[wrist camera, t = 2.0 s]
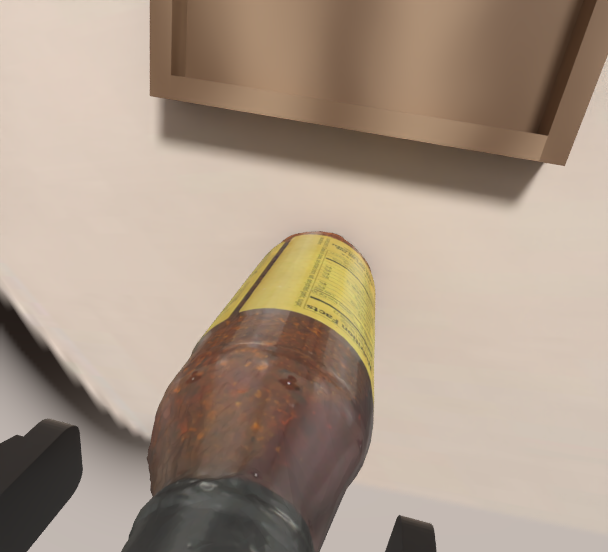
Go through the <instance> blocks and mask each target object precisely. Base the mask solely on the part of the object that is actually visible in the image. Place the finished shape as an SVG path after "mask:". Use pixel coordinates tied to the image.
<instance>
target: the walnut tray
mask: <svg viewBox="0 0 608 552" xmlns="http://www.w3.org/2000/svg"><path fill="white" fill-rule="evenodd" d="M607 55H608V0H150V96H153V97H159V98H165V99H171V100H177V101H183V102H189V103H195V104H201V105H207V106H213V107H219V108H224V109H230V110H236V111H242V112H248V113H254V114H260V115H266V116H272V117H278V118H284V119H290V120H296V121H301V122H307V123H313V124H319V125H325V126H331V127H337V128H343V129H349V130H355V131H361V132H367V133H373V134H379V135H384V136H390V137H396V138H402V139H408V140H414V141H420V142H426V143H432V144H438V145H444V146H450V147H456V148H461V149H467V150H473V151H479V152H485V153H491V154H497V155H503V156H509V157H515V158H521V159H527V160H533V161H538V162H544V163H550V164H556V165H562V166H565V164H566V161H567V159H568V156H569V153H570V151H571V148H572V146H573V143H574V140H575V138H576V135H577V133H578V130H579V128H580V125H581V122H582V120H583V117H584V115H585V112H586V109H587V107H588V104H589V102H590V99H591V97H592V94H593V91H594V89H595V86H596V84H597V81H598V78H599V76H600V73H601V71H602V68H603V66H604V63H605V60H606V58H607Z"/></svg>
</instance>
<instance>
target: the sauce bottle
mask: <svg viewBox="0 0 608 552" xmlns="http://www.w3.org/2000/svg"><path fill="white" fill-rule="evenodd" d="M374 346H375V286H374V281H373V277H372V274H371V270H370V267H369V265H368V263H367V262H366V261H365V259H364V258H363V256H362V254H361V253H359V252H358V250H357V249H356V248H355V247H354V246H353V245H351V244H350V243H349V242H347V241H346V240H344V238H343V237H341V236H339V235H337V234H334V233H327V232H322V231H318V232H305V233H298V234H294V235H291V236H289V237H288V238H286V239H285V240H283V241H282V242H281V243H280V244H279V245H277V246H276V247H274V248H273V249H272V250H271V251H270V252H269V253H268V254H267V255H266V256H265V257H264V259H263V260H262V261H261V262H260V263H259V265H258V266H257V267H256V268H255V270H254V271H253V272H252V274H251V275H250V276H249V277H248V279H247V280H246V281H245V283H244V284H243V285H242V286H241V288H240V289H239V290H238V292H237V293H236V294H235V295H234V297H233V298H232V299H231V301H230V302H229V303H228V304H227V306H226V307H225V308H224V309H223V311H222V312H221V313H220V315H219V316H218V317H217V318H216V320H215V321H214V322H213V324H212V325H211V326H210V327H209V329H208V330H207V331H206V333H205V334H204V335H203V336H202V338H201V339H200V340H199V342H198V343H197V344H196V346H195V348H194V349H193V352H192V354H191V357H190V358H189V360H188V361H187V362H186V364H185V365H184V366H183V368H182V369H181V370H180V372H179V373H178V374H177V375H176V377H175V378H174V379H173V381H172V382H171V383H170V385H169V386H168V388H167V390H166V392H165V394H164V396H163V399H162V401H161V402H160V404H159V407H158V410H157V413H156V416H155V422H154V427H153V431H152V437H151V443H150V446H149V449H148V456H147V461H148V464H149V472H150V481H151V493H152V496H153V497H152V499H151V500H150V501H149V502H148V503H147V504H146V505H145V506H144V507H143V508H142V509H141V510H140V512H139V514H138V516H137V518H136V519H135V521H134V524H133V527H132V530H131V532H130V534H129V540H128V541H127V543H126V544H125V546H124V548H123V549H122V551H121V552H320V549H321V547H322V544H323V542H324V540H325V537H326V535H327V533H328V530H329V528H330V526H331V523H332V521H333V518H334V516H335V514H336V512H337V509H338V507H339V505H340V502H341V500H342V498H343V495H344V494H345V491H346V489H347V488H348V486H349V485H350V484H351V483H352V481H353V480H354V479H355V477H356V476H357V474H358V472H359V471H360V469H361V467H362V465H363V463H364V460H365V457H366V455H367V452H368V449H369V446H370V442H371V436H372V429H373V413H374Z"/></svg>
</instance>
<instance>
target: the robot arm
mask: <svg viewBox="0 0 608 552" xmlns="http://www.w3.org/2000/svg"><path fill="white" fill-rule="evenodd" d="M82 471H83V467H82V455H81V443H80V432H79V429H78V427H77V426H74V425H70V424H67V423H63V422H59V421H56V420H52V419H44V420H42V421H41V422H39V423H38V424H37V425H36V426H35V427H34V428H32V429H31V430H30V431H29V432H28V433H27V434H26V435H25V436H24V437H23V436H19V435H15V436H13V437H12V438H10V439H8V440H6V441H4V442H2V443H0V552H27V551H28V550H29V548H30V547H31V546H32V544H33V543H34V542H35V541H36V540H37V538H38V537H39V536H40V535H41V533H42V532H43V531H44V530H45V529H46V527H47V526H48V525H49V524H50V522H51V521H52V520H53V519H54V517H55V516H56V515H57V514H58V512H59V511H60V510H61V509H62V508H63V506H64V505H65V504H66V503H67V501H68V500H69V499H70V498H71V496H72V495H73V494H74V492H75V490H76V489H77V487H78V484H79V482H80V479H81V476H82ZM385 552H436V542H435V533H434V528H433V526H432V524H430V523H426V522H423V521H419V520H415V519H412V518H408V517H404V516H401V515H399V516H398V517H397V519H396V522H395V525H394V528H393V531H392V534H391V536H390V539H389V542H388V545H387V548H386V551H385Z"/></svg>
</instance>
